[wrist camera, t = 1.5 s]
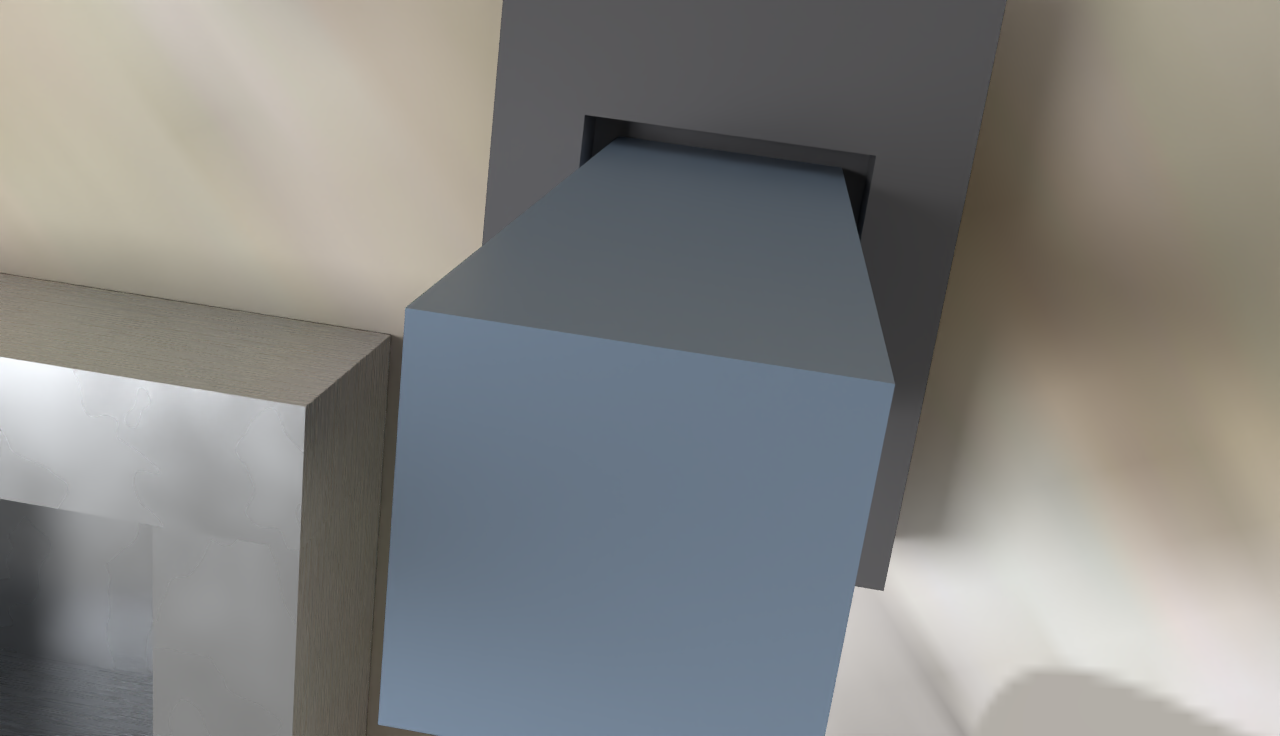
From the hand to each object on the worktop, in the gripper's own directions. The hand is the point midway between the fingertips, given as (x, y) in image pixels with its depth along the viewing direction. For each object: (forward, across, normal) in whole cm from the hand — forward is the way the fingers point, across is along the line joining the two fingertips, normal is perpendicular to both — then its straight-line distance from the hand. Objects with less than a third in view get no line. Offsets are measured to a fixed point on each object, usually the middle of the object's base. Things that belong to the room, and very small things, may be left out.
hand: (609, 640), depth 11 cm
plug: (+15, 0, 0) cm, 15 cm away
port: (+16, -13, -8) cm, 22 cm away
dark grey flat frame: (+16, 0, 0) cm, 16 cm away
